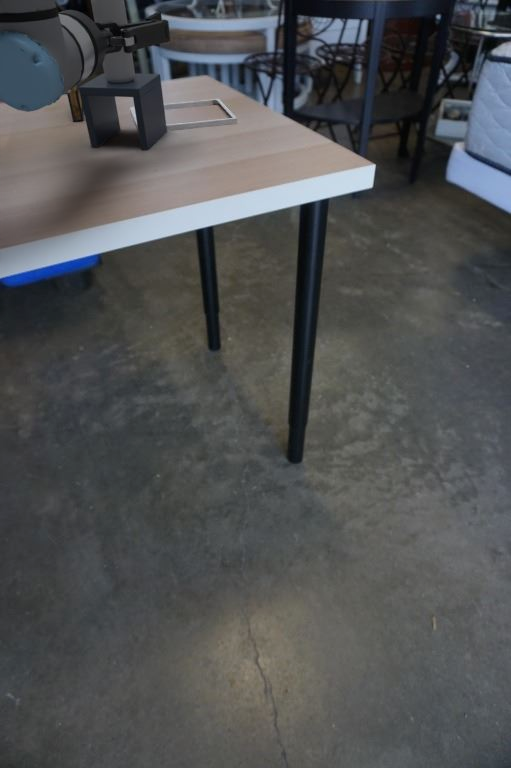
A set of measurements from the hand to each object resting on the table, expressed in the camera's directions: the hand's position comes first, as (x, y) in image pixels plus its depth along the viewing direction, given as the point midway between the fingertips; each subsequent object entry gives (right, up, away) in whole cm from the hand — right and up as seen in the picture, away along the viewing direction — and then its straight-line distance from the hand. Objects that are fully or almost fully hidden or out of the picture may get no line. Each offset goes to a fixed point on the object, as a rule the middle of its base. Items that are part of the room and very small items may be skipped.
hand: (117, 22), depth 83 cm
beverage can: (0, -8, +3) cm, 8 cm away
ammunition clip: (-13, -4, +21) cm, 25 cm away
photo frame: (+8, -6, +18) cm, 20 cm away
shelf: (0, -14, +8) cm, 17 cm away
